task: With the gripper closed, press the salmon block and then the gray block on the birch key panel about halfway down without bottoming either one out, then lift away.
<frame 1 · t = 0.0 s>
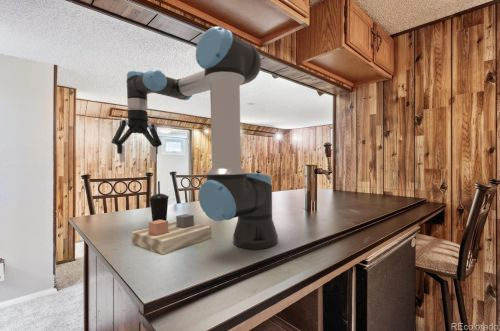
hand: (138, 162, 103), 28 cm above the bar counter, tool pointing down, fingers open, 13 cm apart
drinking cup: (159, 230, 102), on the bar counter
key panel: (172, 240, 87), on the bar counter
gray block: (185, 222, 92), point 5 cm above the bar counter, slide at 0.0 cm
salmon block: (158, 229, 83), point 5 cm above the bar counter, slide at 0.0 cm
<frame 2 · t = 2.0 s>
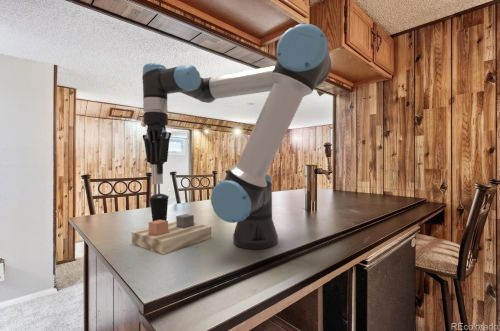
hand: (157, 183, 83), 20 cm above the bar counter, tool pointing down, fingers closed
nothing on the bar counter moved.
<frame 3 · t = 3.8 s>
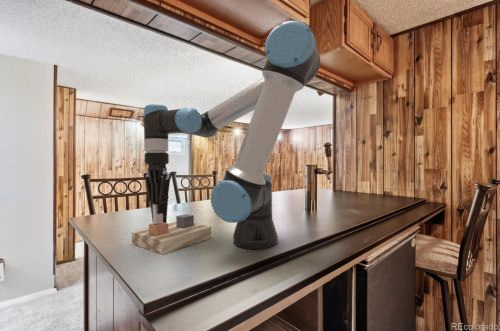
hand: (158, 223, 83), 7 cm above the bar counter, tool pointing down, fingers closed
salmon block: (158, 231, 83), point 5 cm above the bar counter, slide at 0.8 cm, touching gripper
everything else where it was.
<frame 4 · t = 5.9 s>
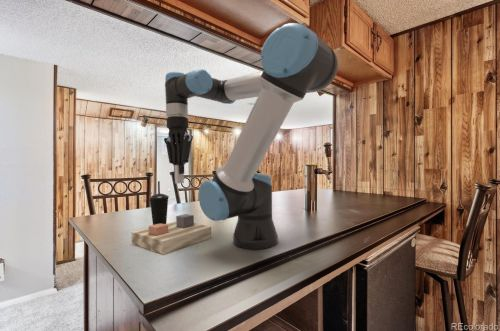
hand: (179, 183, 89), 20 cm above the bar counter, tool pointing down, fingers closed
salmon block: (158, 233, 83), point 4 cm above the bar counter, slide at 1.3 cm
everything else where it was.
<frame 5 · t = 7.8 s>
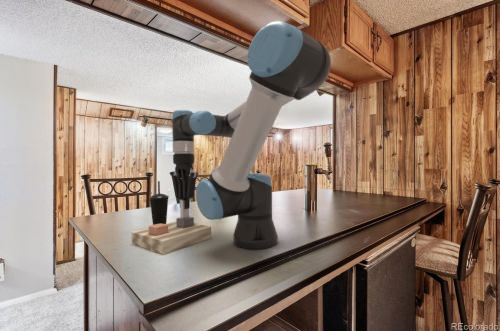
hand: (184, 217, 92), 7 cm above the bar counter, tool pointing down, fingers closed
gray block: (185, 224, 92), point 4 cm above the bar counter, slide at 0.8 cm, touching gripper
everything else where it was.
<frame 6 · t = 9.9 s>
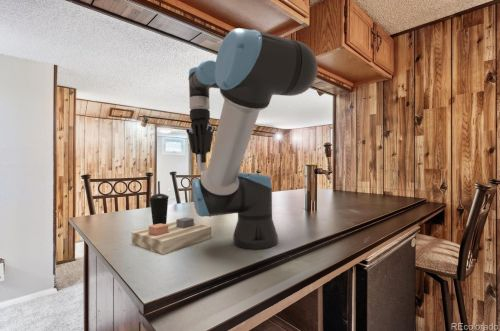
hand: (201, 171, 95), 24 cm above the bar counter, tool pointing down, fingers closed
gray block: (185, 225, 92), point 4 cm above the bar counter, slide at 1.3 cm
everything else where it was.
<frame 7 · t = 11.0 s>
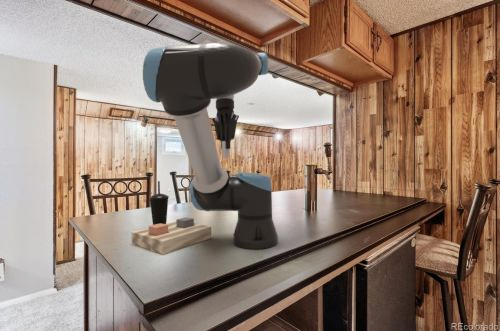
hand: (226, 157, 102), 29 cm above the bar counter, tool pointing down, fingers closed
nothing on the bar counter moved.
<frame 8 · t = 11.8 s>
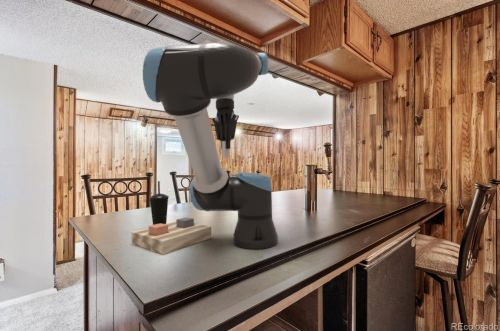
hand: (226, 157, 102), 29 cm above the bar counter, tool pointing down, fingers closed
nothing on the bar counter moved.
at the end: salmon block slide at 1.3 cm; gray block slide at 1.3 cm; drinking cup moved 0.2 cm from its start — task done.
